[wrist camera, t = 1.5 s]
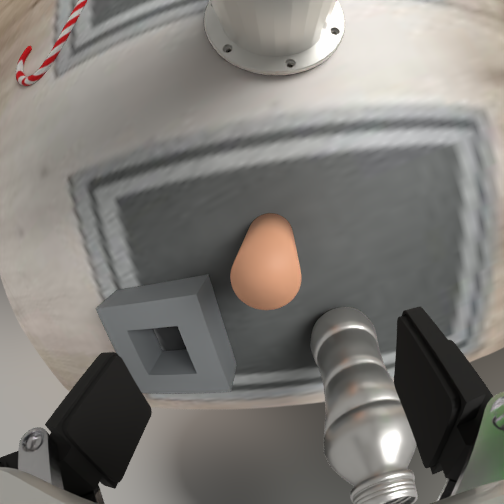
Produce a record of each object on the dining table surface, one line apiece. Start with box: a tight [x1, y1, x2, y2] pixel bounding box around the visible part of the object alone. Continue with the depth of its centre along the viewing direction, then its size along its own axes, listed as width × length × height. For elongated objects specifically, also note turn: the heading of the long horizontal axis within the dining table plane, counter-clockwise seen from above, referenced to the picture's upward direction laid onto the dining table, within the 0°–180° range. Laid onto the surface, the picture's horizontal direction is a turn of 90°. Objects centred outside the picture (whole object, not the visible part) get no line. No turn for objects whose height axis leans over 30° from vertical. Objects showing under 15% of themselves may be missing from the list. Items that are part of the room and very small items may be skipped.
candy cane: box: [16, 0, 87, 86], centre depth 20 cm, size 8×1×15 cm
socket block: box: [96, 274, 237, 394], centre depth 28 cm, size 11×11×4 cm
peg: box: [230, 213, 301, 310], centre depth 21 cm, size 4×4×10 cm
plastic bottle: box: [310, 307, 417, 504], centre depth 18 cm, size 6×7×20 cm
